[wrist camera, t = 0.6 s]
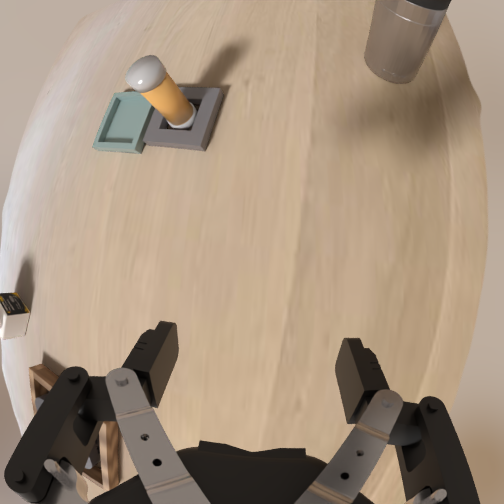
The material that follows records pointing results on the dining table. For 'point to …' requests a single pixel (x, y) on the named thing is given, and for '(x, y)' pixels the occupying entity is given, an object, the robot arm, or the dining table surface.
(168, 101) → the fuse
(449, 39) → the dining table surface
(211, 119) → the frame
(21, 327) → the medicine bottle
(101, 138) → the parts tray
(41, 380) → the square wooden tray
